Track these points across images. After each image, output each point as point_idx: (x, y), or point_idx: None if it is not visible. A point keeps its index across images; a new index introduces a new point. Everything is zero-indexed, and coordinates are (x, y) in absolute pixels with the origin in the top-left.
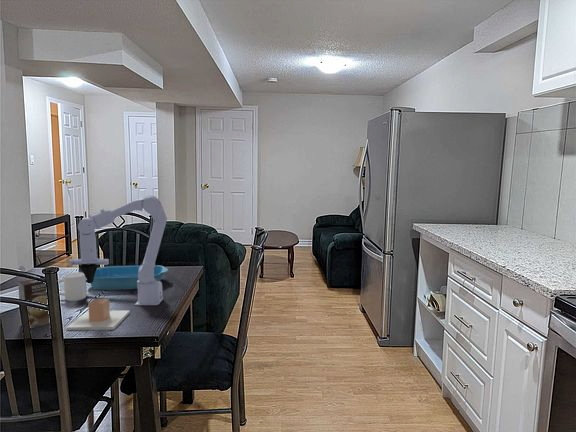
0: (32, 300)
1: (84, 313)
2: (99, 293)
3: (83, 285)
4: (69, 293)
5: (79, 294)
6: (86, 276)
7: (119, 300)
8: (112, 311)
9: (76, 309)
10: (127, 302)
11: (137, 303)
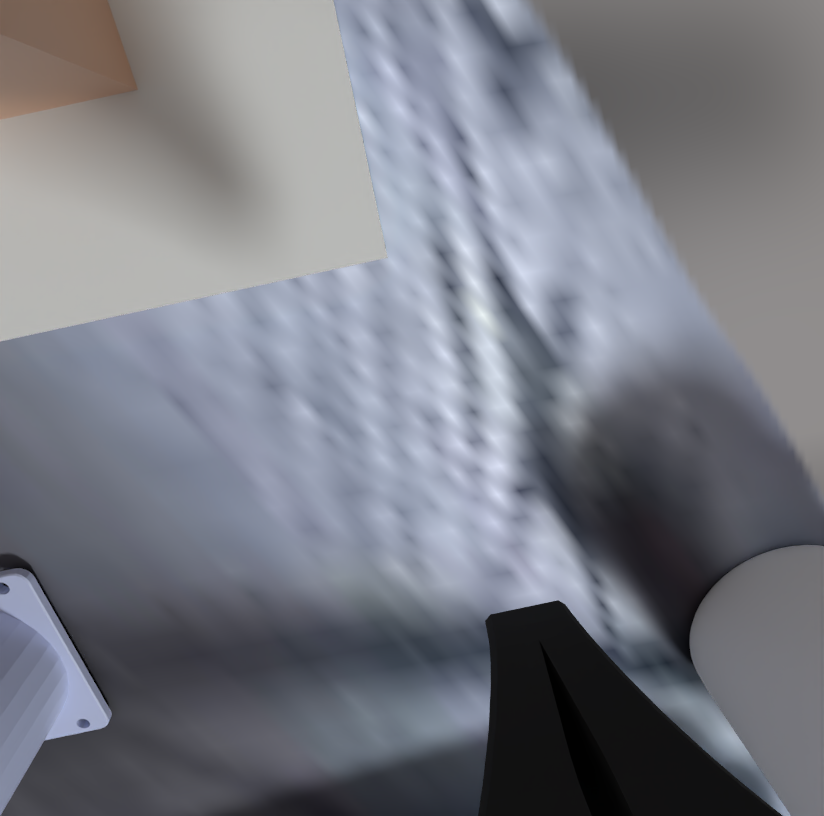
0: None
1: (364, 158)
2: None
3: (779, 748)
4: None
5: (747, 625)
6: (637, 730)
7: (312, 654)
8: (49, 297)
9: (601, 350)
10: (189, 626)
11: (14, 601)
